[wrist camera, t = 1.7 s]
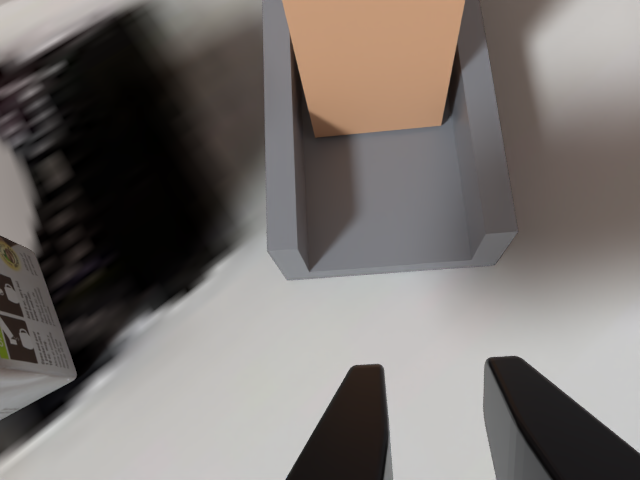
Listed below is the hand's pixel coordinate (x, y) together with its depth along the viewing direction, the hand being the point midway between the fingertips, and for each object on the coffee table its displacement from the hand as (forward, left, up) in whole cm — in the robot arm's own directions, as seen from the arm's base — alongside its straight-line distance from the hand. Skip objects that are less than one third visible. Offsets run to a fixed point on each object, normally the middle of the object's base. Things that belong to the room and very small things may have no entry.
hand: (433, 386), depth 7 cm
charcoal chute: (+10, +8, -14) cm, 19 cm away
